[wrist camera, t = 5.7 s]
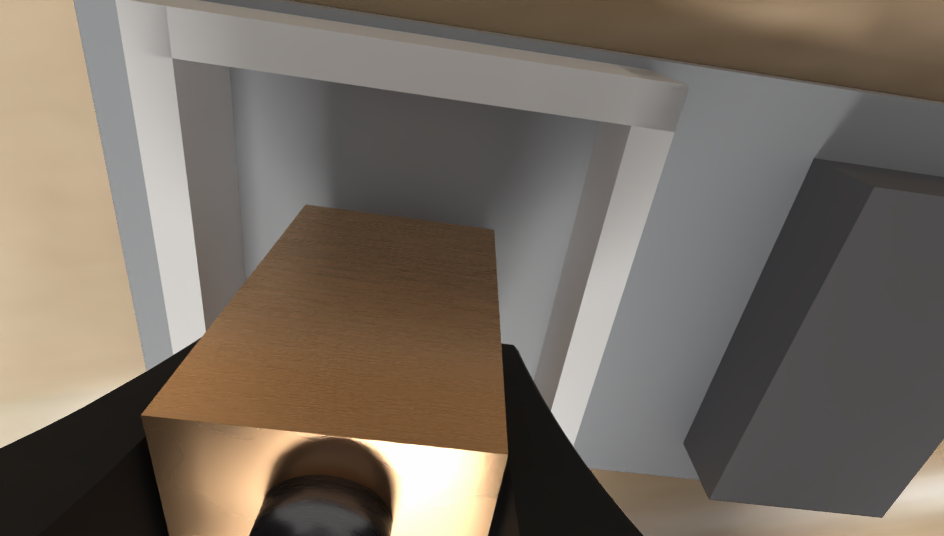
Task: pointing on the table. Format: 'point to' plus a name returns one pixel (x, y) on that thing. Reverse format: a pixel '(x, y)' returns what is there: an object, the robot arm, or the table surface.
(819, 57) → the table surface
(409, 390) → the brown block with knobs
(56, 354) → the table surface
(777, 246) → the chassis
